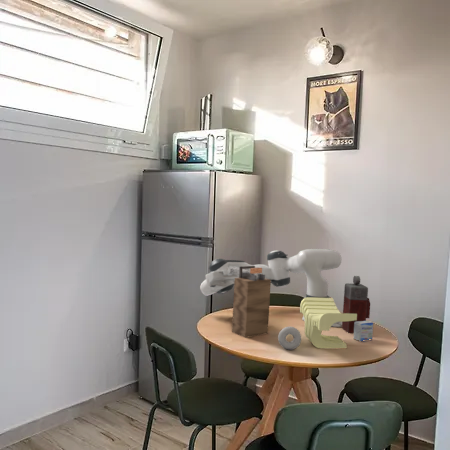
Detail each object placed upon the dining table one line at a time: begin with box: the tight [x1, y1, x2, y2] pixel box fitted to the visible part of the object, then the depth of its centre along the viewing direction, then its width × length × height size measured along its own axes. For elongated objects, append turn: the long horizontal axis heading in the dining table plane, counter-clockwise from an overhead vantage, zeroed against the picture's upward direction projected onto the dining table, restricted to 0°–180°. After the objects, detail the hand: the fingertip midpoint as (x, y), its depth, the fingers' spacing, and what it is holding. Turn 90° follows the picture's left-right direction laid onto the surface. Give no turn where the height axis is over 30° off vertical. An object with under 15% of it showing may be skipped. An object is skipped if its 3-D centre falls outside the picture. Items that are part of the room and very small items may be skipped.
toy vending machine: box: [341, 275, 371, 334], centre depth 226 cm, size 9×11×28 cm
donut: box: [277, 326, 302, 351], centre depth 192 cm, size 10×4×10 cm, turn 89°
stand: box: [231, 266, 272, 338], centre depth 213 cm, size 10×14×31 cm
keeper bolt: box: [228, 267, 262, 280], centre depth 218 cm, size 20×6×5 cm, turn 37°
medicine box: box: [353, 320, 374, 342], centre depth 212 cm, size 8×4×9 cm, turn 117°
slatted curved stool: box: [299, 297, 357, 349], centre depth 203 cm, size 30×16×18 cm, turn 6°
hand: (235, 270), depth 223 cm, fingers closed on keeper bolt, 3 cm apart
